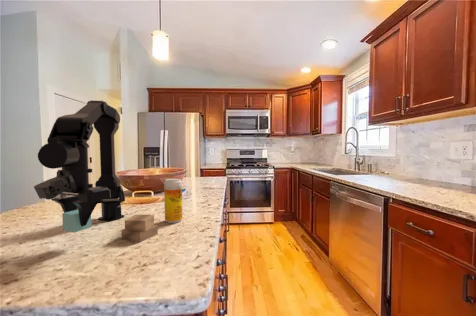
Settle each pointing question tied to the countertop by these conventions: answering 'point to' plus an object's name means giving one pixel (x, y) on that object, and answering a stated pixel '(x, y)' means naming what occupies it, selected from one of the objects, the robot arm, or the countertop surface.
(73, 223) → the teal cube
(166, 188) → the beer can
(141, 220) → the slab upper
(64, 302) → the countertop surface
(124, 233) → the slab lower
